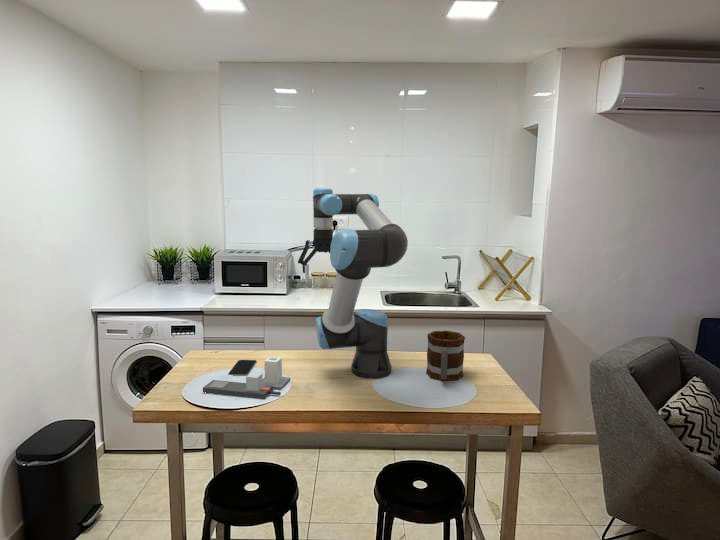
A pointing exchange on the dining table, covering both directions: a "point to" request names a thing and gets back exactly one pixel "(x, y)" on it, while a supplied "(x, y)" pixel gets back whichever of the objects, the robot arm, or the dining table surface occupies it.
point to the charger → (273, 370)
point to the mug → (445, 356)
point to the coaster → (280, 384)
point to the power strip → (238, 389)
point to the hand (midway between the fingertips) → (323, 282)
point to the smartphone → (242, 367)
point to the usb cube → (254, 381)
